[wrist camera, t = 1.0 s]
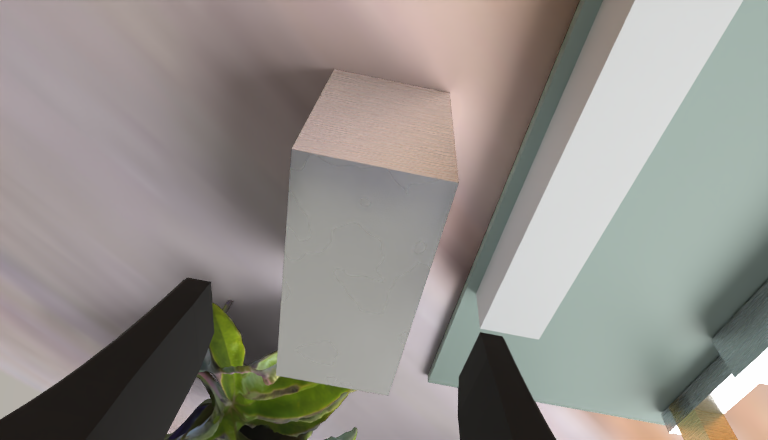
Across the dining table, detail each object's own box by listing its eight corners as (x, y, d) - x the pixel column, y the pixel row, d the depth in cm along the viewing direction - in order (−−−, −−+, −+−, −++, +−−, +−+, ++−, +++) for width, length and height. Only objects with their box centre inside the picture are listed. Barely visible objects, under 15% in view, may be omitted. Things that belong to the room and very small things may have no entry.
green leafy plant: (284, 321, 31) (137, 482, 26) (210, 212, 24) (-22, 407, 18) (418, 411, 25) (263, 647, 20) (377, 305, 18) (106, 640, 12)
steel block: (397, 278, 21) (388, 395, 16) (311, 262, 21) (275, 375, 16) (449, 92, 16) (458, 182, 11) (335, 67, 15) (291, 149, 11)
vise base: (690, 423, 25) (711, 467, 23) (427, 375, 25) (427, 417, 23) (1114, 39, 13) (1234, 64, 11) (611, -77, 12) (645, -71, 10)
